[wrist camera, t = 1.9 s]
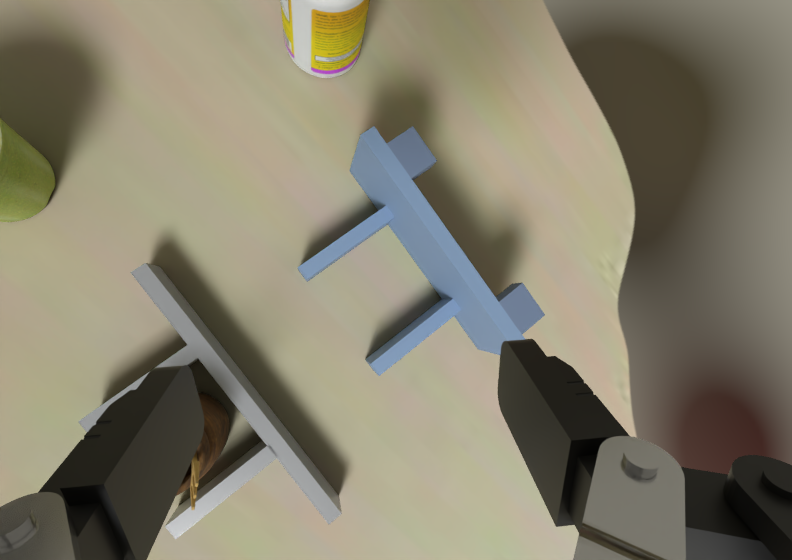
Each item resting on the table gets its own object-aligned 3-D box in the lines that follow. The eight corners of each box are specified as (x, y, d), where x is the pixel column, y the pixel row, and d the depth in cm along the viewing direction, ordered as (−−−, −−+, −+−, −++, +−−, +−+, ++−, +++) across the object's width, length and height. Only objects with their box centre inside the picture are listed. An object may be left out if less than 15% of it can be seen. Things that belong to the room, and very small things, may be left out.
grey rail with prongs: (239, 581, 33) (232, 608, 30) (43, 342, 31) (15, 346, 28) (338, 496, 35) (341, 513, 32) (159, 266, 33) (145, 262, 30)
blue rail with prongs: (404, 411, 37) (430, 440, 29) (265, 226, 35) (253, 204, 27) (506, 325, 39) (555, 330, 31) (381, 149, 37) (400, 108, 30)
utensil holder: (157, 387, 33) (71, 433, 21) (240, 392, 34) (204, 439, 22) (145, 464, 32) (51, 555, 20) (230, 467, 33) (187, 554, 22)
